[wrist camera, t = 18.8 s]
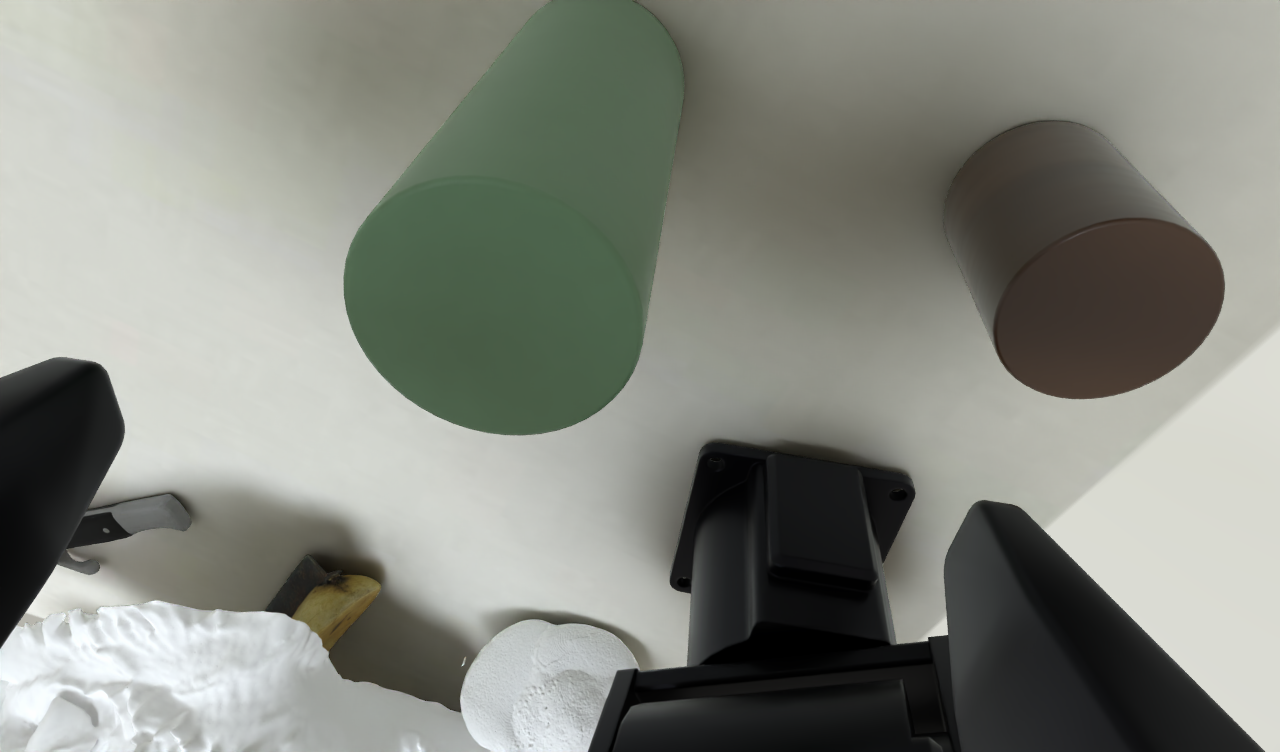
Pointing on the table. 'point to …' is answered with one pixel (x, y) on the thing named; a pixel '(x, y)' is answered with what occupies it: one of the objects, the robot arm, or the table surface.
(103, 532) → the knife
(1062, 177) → the walnut post
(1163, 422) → the table surface
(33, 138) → the table surface
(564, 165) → the green peg
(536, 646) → the dumpling
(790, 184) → the table surface
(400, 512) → the table surface
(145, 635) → the figurine
